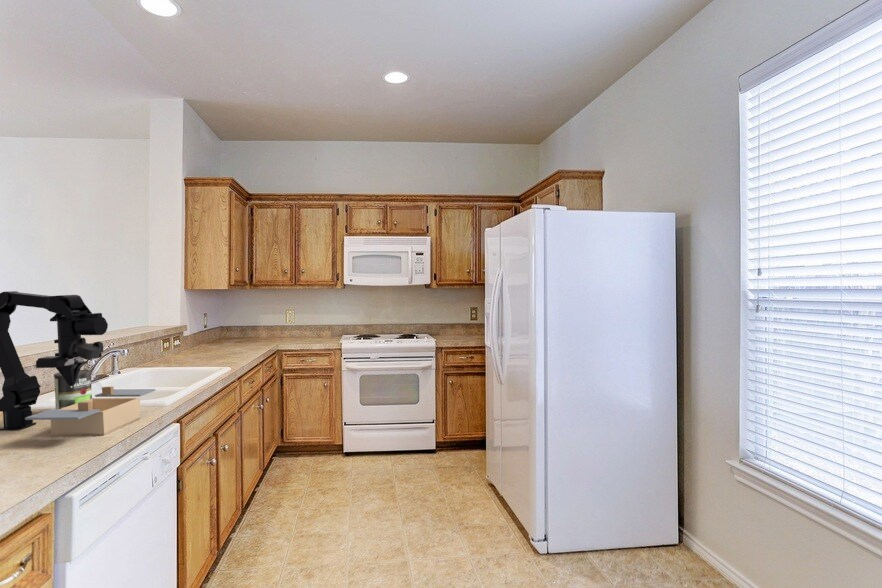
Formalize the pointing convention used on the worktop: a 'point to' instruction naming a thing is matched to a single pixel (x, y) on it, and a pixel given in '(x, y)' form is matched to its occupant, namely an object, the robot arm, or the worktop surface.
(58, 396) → the coffee can
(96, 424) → the carton
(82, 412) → the lid panel
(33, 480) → the worktop surface
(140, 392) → the lid panel
